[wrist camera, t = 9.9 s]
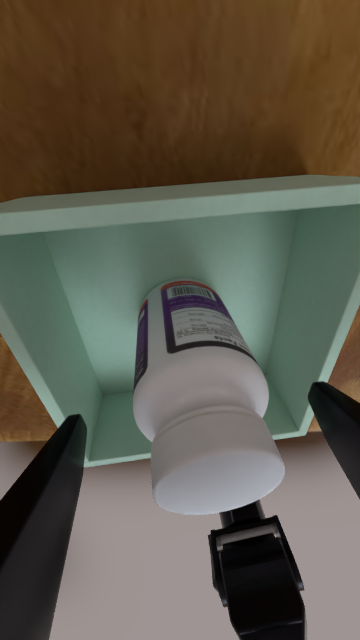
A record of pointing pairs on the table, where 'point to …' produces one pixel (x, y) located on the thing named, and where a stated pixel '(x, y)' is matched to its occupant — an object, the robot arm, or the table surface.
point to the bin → (170, 263)
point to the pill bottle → (201, 403)
